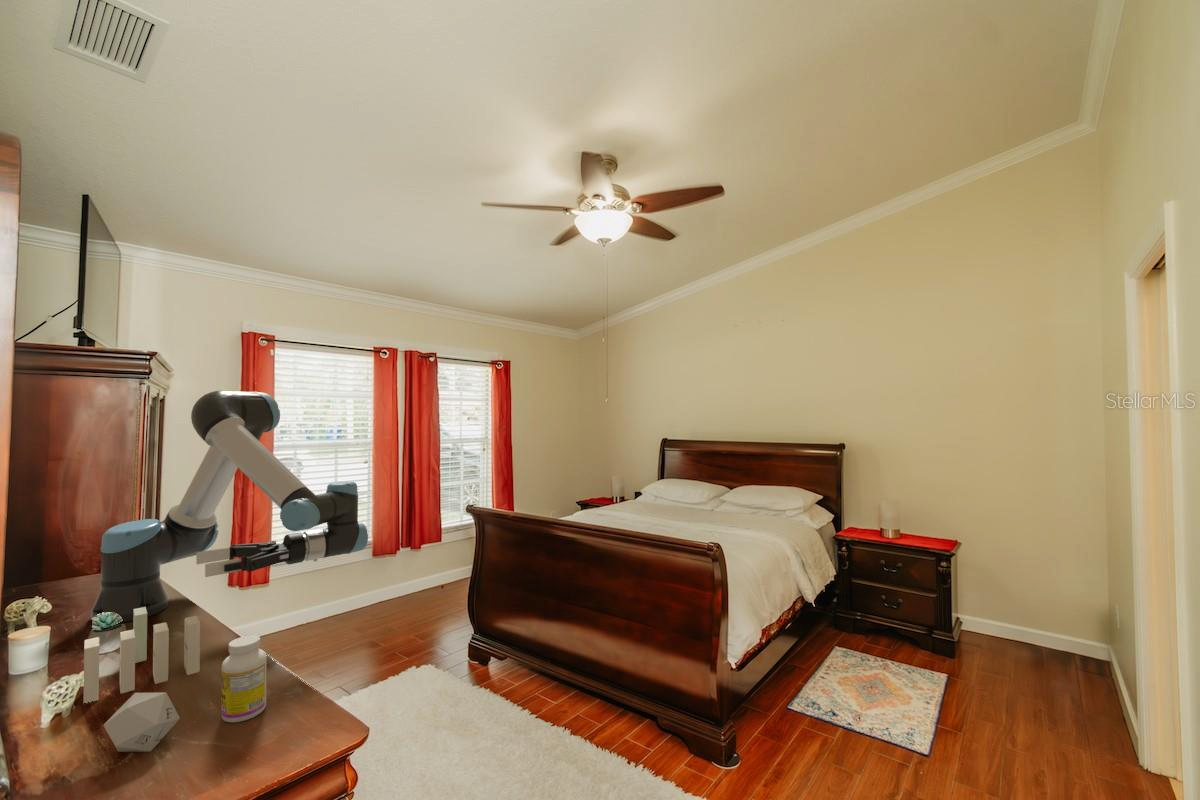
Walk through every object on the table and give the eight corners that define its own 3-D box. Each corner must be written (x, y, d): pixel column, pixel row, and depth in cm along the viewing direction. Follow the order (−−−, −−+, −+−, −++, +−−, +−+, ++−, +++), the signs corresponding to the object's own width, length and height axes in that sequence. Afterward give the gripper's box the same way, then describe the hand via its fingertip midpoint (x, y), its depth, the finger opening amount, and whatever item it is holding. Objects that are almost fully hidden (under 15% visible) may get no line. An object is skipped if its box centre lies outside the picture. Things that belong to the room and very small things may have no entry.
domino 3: (144, 652, 116) (145, 606, 117) (146, 660, 113) (147, 613, 113) (132, 654, 115) (133, 609, 115) (133, 663, 111) (134, 615, 111)
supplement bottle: (227, 706, 95) (228, 635, 95) (270, 699, 97) (270, 630, 98) (215, 728, 89) (216, 651, 89) (261, 719, 91) (261, 645, 91)
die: (114, 776, 78) (165, 712, 81) (76, 741, 80) (127, 680, 83) (157, 761, 86) (202, 703, 89) (121, 729, 87) (166, 674, 90)
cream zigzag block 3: (165, 670, 108) (166, 622, 108) (168, 680, 104) (168, 629, 104) (152, 674, 107) (153, 624, 107) (154, 684, 103) (155, 632, 103)
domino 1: (98, 689, 101) (99, 636, 101) (98, 699, 97) (99, 645, 98) (83, 693, 100) (84, 640, 100) (83, 704, 96) (84, 649, 96)
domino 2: (133, 679, 105) (133, 629, 105) (134, 689, 101) (135, 637, 101) (119, 683, 103) (120, 632, 103) (120, 693, 99) (121, 640, 100)
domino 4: (196, 662, 112) (196, 615, 112) (199, 671, 108) (200, 622, 108) (184, 666, 110) (184, 618, 110) (187, 675, 106) (187, 625, 107)
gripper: (317, 571, 127) (209, 594, 112) (290, 552, 145) (193, 569, 130) (317, 540, 127) (209, 558, 112) (290, 524, 145) (193, 538, 130)
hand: (200, 564), depth 121 cm, fingers open, 13 cm apart
